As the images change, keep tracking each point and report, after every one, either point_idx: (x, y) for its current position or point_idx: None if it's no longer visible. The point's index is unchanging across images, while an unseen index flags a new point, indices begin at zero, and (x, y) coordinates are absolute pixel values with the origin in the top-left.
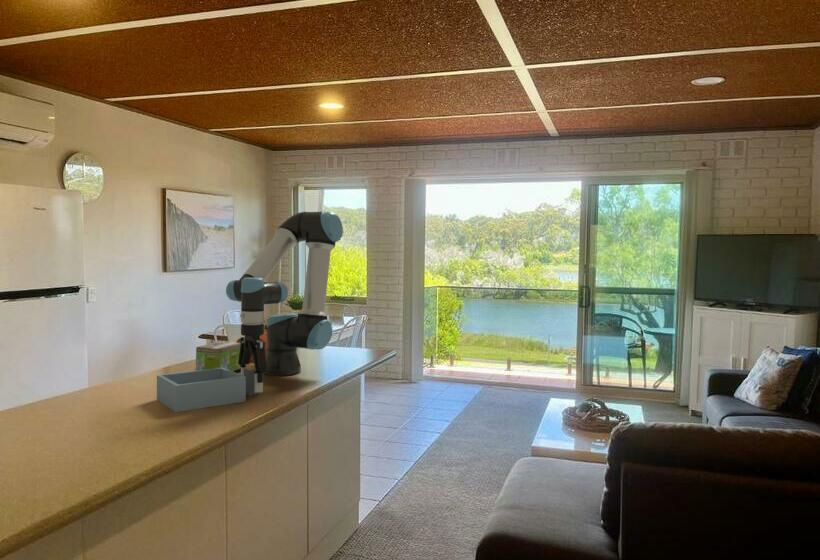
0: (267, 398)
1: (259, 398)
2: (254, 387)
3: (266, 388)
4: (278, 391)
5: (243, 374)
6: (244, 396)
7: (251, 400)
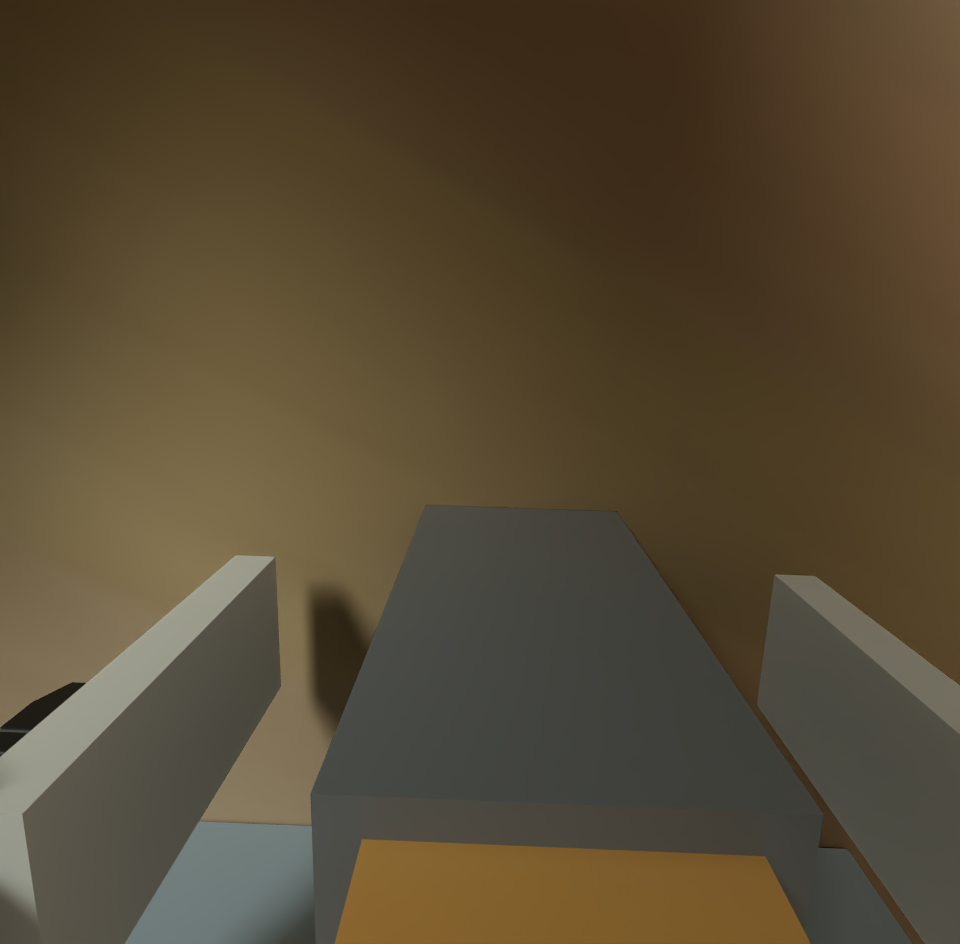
0: (933, 549)
1: None
2: (801, 761)
3: (319, 228)
4: (654, 160)
5: (170, 838)
6: (886, 923)
7: None
